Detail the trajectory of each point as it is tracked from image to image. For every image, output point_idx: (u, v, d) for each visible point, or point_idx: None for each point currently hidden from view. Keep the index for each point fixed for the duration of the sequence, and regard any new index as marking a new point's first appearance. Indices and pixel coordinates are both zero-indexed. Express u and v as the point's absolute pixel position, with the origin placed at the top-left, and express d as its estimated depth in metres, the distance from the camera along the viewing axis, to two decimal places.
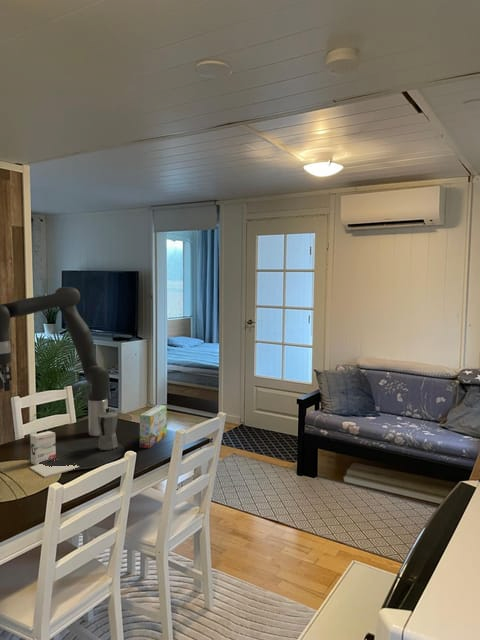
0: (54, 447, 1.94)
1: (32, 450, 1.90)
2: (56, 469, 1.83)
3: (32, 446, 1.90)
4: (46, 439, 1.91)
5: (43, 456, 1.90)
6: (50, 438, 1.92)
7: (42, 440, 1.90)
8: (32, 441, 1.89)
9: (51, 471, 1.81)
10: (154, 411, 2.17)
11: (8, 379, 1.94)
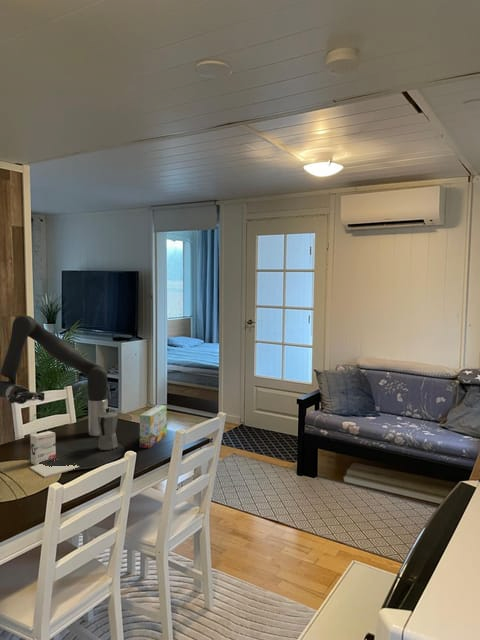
0: (54, 447, 1.94)
1: (32, 450, 1.90)
2: (56, 469, 1.83)
3: (32, 446, 1.90)
4: (46, 439, 1.91)
5: (43, 456, 1.90)
6: (50, 438, 1.92)
7: (42, 440, 1.90)
8: (32, 441, 1.89)
9: (51, 471, 1.81)
10: (154, 411, 2.17)
11: (11, 400, 1.97)
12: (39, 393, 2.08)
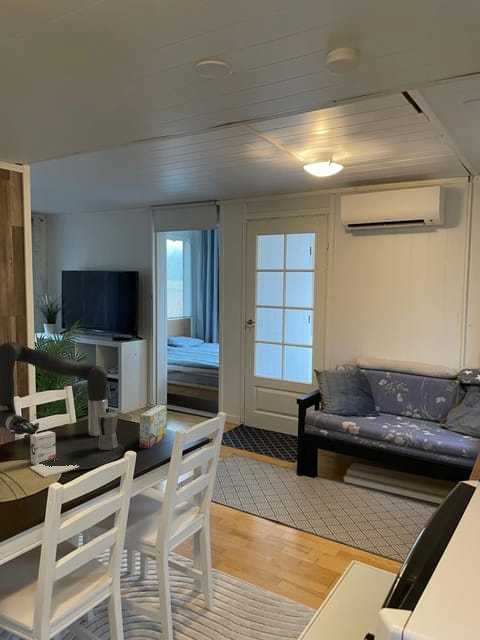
0: (54, 447, 1.94)
1: (32, 450, 1.90)
2: (56, 469, 1.83)
3: (32, 446, 1.90)
4: (46, 439, 1.91)
5: (43, 456, 1.90)
6: (50, 438, 1.92)
7: (42, 440, 1.90)
8: (32, 441, 1.89)
9: (51, 471, 1.81)
10: (154, 411, 2.17)
11: (20, 431, 2.00)
12: None
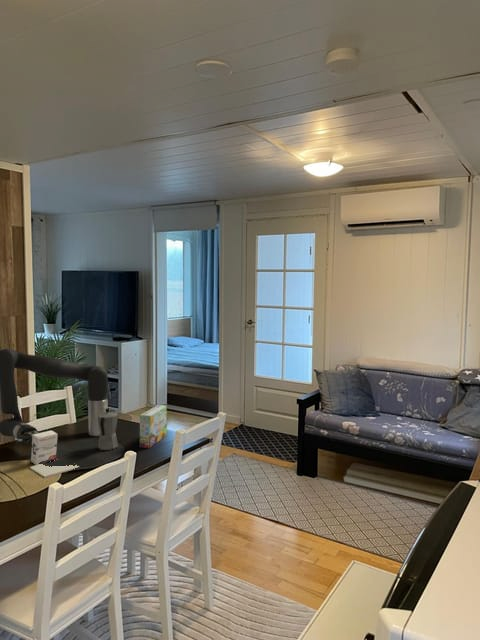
0: (55, 448, 1.93)
1: (33, 449, 1.89)
2: (56, 469, 1.83)
3: (33, 446, 1.89)
4: (48, 440, 1.90)
5: (44, 457, 1.90)
6: (52, 439, 1.91)
7: (44, 441, 1.89)
8: (34, 441, 1.88)
9: (51, 471, 1.81)
10: (154, 411, 2.17)
11: (28, 440, 1.95)
12: None
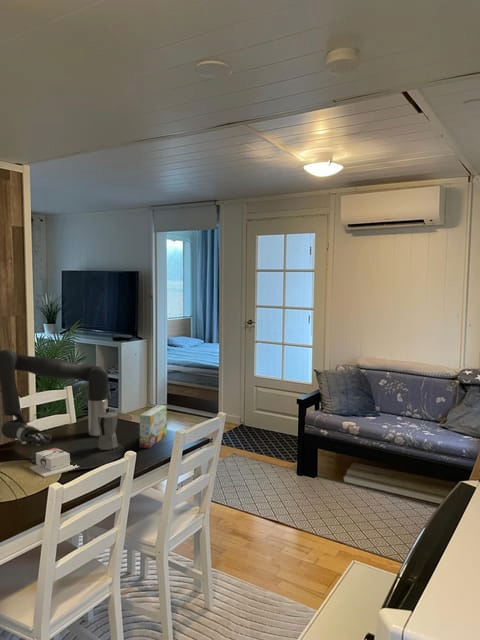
0: None
1: (42, 460, 1.84)
2: (56, 469, 1.83)
3: (44, 461, 1.83)
4: None
5: None
6: None
7: None
8: (47, 463, 1.82)
9: (51, 471, 1.81)
10: (154, 411, 2.17)
11: (32, 443, 1.92)
12: (46, 436, 1.98)
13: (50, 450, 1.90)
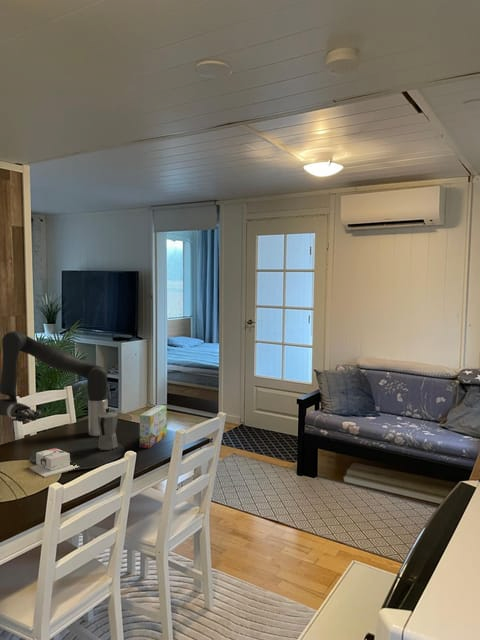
0: None
1: (42, 460, 1.84)
2: (56, 469, 1.83)
3: (44, 461, 1.83)
4: None
5: None
6: None
7: None
8: (47, 462, 1.82)
9: (51, 471, 1.81)
10: (154, 411, 2.17)
11: (22, 417, 2.00)
12: None
13: (50, 450, 1.90)
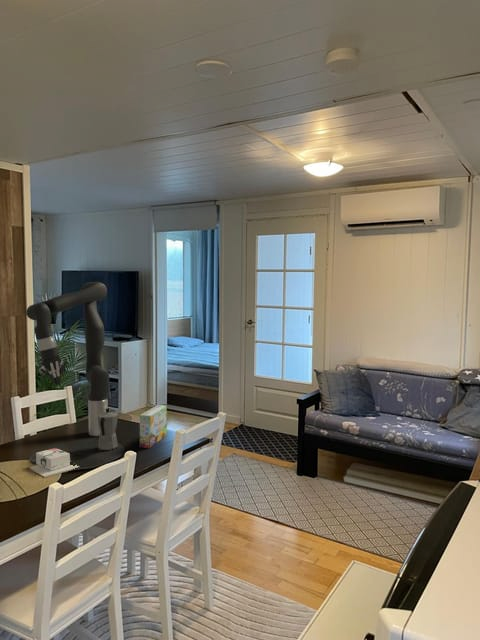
0: None
1: (42, 460, 1.84)
2: (56, 469, 1.83)
3: (44, 461, 1.83)
4: None
5: None
6: None
7: None
8: (47, 462, 1.82)
9: (51, 471, 1.81)
10: (154, 411, 2.17)
11: None
12: (62, 367, 2.09)
13: (50, 450, 1.90)
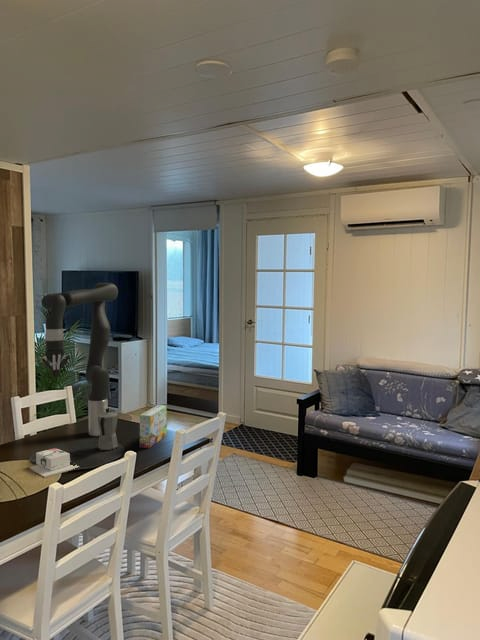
0: None
1: (42, 460, 1.84)
2: (56, 469, 1.83)
3: (44, 461, 1.83)
4: None
5: None
6: None
7: None
8: (47, 462, 1.82)
9: (51, 471, 1.81)
10: (154, 411, 2.17)
11: None
12: (63, 361, 2.09)
13: (50, 450, 1.90)
